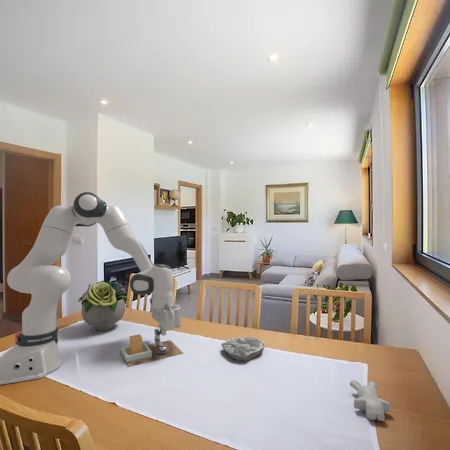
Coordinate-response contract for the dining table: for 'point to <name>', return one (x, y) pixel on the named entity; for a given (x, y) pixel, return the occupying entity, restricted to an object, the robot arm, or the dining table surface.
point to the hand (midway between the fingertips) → (163, 334)
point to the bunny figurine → (370, 401)
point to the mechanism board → (158, 353)
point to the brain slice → (243, 348)
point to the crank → (158, 342)
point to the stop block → (135, 344)
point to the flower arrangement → (103, 304)
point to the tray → (136, 357)
